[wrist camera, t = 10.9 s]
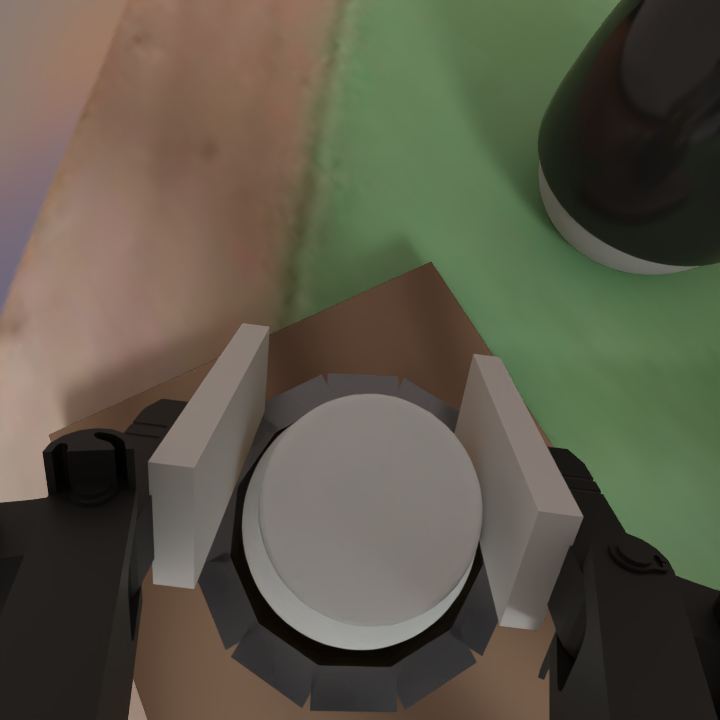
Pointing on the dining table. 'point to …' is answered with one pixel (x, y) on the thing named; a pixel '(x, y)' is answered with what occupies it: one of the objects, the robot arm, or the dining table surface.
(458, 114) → the dining table surface
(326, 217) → the dining table surface
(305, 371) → the board
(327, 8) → the dining table surface
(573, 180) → the pump dispenser
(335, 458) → the supplement bottle
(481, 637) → the collar
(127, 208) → the dining table surface
